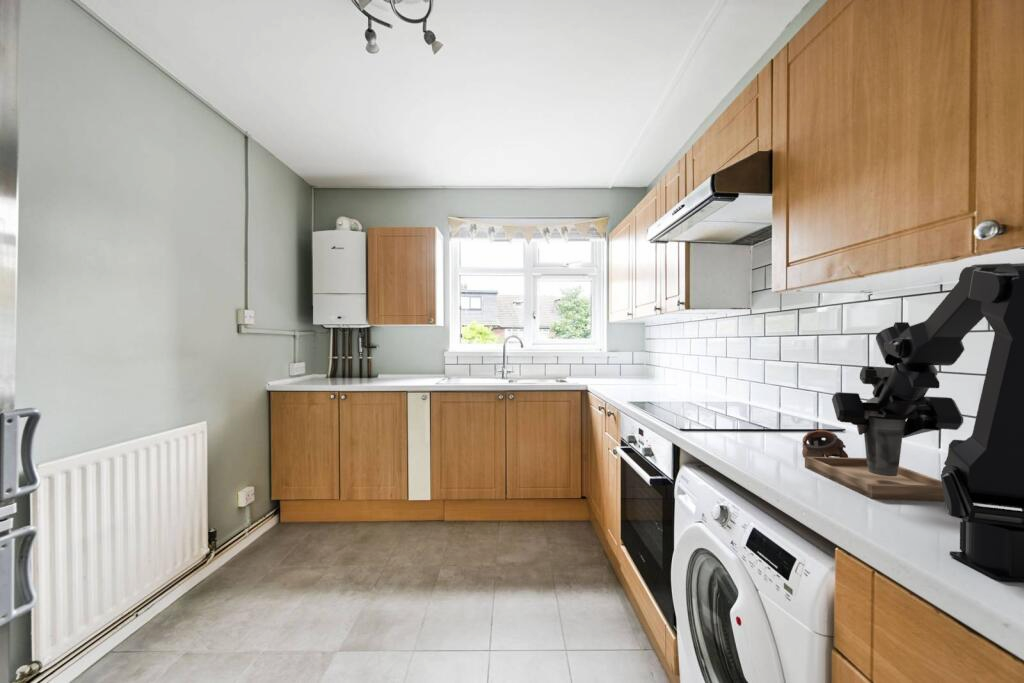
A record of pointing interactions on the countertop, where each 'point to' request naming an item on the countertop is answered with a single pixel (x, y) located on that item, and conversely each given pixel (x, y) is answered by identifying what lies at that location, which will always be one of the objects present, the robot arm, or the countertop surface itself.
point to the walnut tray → (877, 479)
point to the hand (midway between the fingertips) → (880, 434)
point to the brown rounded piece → (823, 445)
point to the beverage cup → (883, 443)
